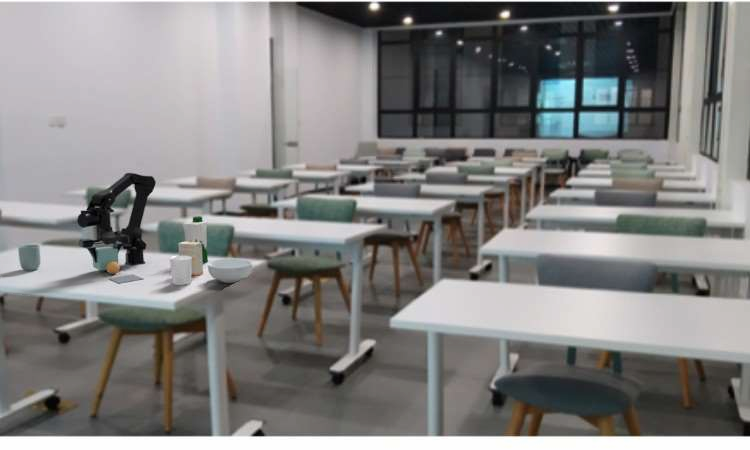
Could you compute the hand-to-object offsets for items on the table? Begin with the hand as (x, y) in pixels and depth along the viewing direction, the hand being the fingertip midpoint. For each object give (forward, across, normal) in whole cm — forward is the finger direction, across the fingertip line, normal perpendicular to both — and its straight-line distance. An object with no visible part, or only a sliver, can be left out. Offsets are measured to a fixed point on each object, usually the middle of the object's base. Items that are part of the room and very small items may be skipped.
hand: (105, 261), depth 271 cm
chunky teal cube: (+2, 0, 0) cm, 2 cm away
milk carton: (+4, +35, -10) cm, 37 cm away
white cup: (+4, +14, -40) cm, 42 cm away
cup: (+4, -22, +23) cm, 33 cm away
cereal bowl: (+4, +30, -48) cm, 57 cm away
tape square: (+4, +1, -19) cm, 20 cm away
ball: (+2, 0, -7) cm, 7 cm away
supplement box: (+4, +24, -28) cm, 37 cm away
